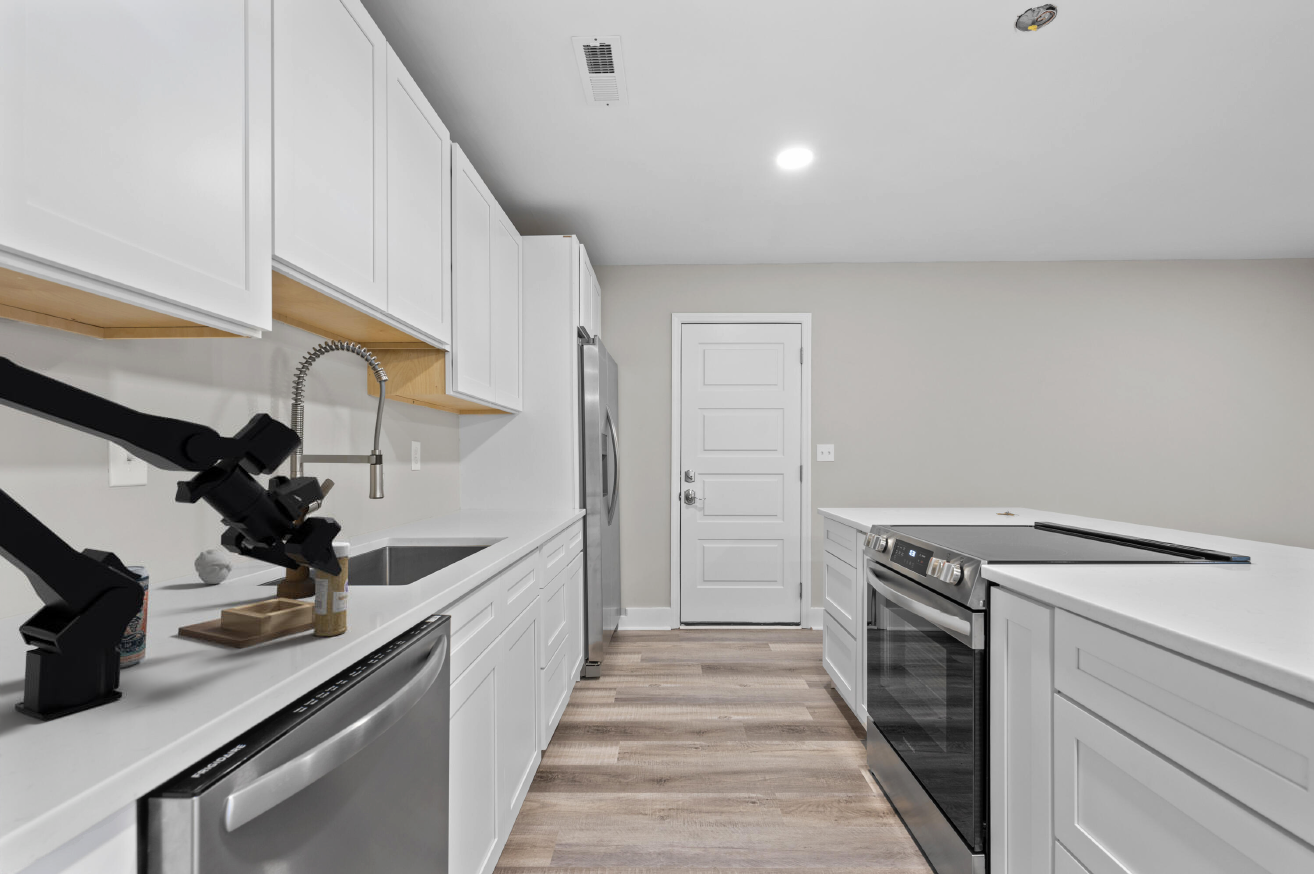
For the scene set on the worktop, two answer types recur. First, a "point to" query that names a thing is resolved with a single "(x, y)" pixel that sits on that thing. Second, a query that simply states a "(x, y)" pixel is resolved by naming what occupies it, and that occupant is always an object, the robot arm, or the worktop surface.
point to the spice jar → (332, 596)
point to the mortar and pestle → (297, 577)
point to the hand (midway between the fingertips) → (318, 570)
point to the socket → (255, 623)
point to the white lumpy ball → (213, 566)
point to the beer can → (136, 627)
